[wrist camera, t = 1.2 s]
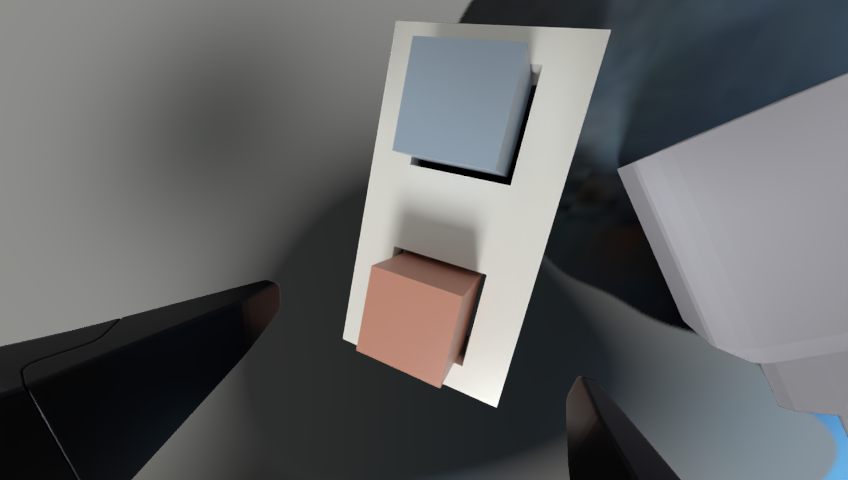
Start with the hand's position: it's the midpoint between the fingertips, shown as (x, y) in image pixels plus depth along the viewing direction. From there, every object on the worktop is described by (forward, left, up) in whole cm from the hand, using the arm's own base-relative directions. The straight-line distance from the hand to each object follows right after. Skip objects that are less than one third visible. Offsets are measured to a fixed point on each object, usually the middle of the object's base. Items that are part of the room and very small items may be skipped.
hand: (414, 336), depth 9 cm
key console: (+3, +2, -12) cm, 13 cm away
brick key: (-2, +2, -9) cm, 10 cm away
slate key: (+8, +2, -9) cm, 12 cm away
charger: (+4, -14, -13) cm, 19 cm away
